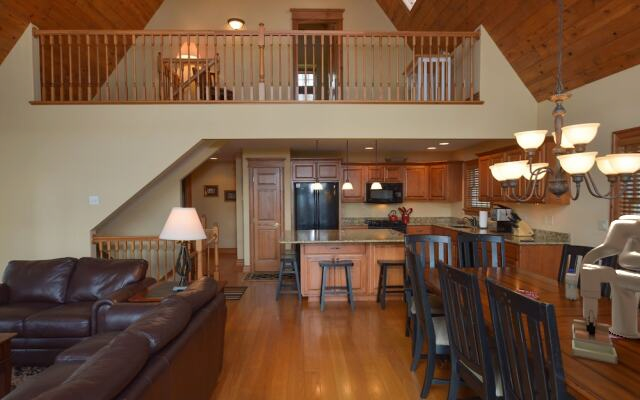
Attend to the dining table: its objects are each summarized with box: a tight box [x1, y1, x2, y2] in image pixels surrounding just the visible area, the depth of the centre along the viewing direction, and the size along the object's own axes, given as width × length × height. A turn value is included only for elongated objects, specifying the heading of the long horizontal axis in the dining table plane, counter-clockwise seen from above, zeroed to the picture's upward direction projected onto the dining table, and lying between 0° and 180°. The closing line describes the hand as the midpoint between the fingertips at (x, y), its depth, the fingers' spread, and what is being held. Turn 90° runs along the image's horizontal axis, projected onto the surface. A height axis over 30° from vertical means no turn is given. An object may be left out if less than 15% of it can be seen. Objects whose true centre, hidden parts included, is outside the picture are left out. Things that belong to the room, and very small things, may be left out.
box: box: [571, 339, 619, 365], centre depth 154 cm, size 11×15×3 cm
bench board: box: [571, 323, 614, 347], centre depth 167 cm, size 20×14×4 cm
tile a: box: [594, 332, 611, 343], centre depth 160 cm, size 5×5×2 cm
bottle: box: [564, 268, 578, 301], centre depth 232 cm, size 7×7×20 cm
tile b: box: [575, 329, 589, 339], centre depth 164 cm, size 5×5×2 cm
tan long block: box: [573, 319, 610, 335], centre depth 166 cm, size 3×13×5 cm, turn 55°
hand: (590, 332), depth 166 cm, fingers closed on tan long block, 2 cm apart
